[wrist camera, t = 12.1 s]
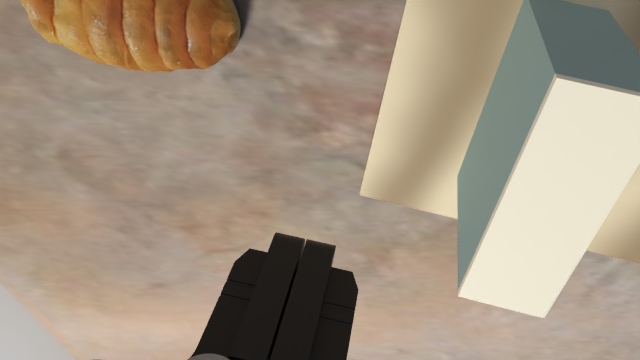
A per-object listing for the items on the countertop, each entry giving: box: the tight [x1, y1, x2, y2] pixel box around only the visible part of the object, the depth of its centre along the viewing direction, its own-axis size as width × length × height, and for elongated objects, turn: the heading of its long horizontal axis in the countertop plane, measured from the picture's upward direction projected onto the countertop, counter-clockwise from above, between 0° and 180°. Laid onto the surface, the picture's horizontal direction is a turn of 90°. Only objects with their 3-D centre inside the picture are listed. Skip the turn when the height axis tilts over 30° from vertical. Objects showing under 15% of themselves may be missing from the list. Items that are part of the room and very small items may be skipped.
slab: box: [457, 0, 640, 318], centre depth 21 cm, size 3×9×8 cm, turn 171°
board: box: [360, 0, 640, 263], centre depth 24 cm, size 18×14×1 cm
